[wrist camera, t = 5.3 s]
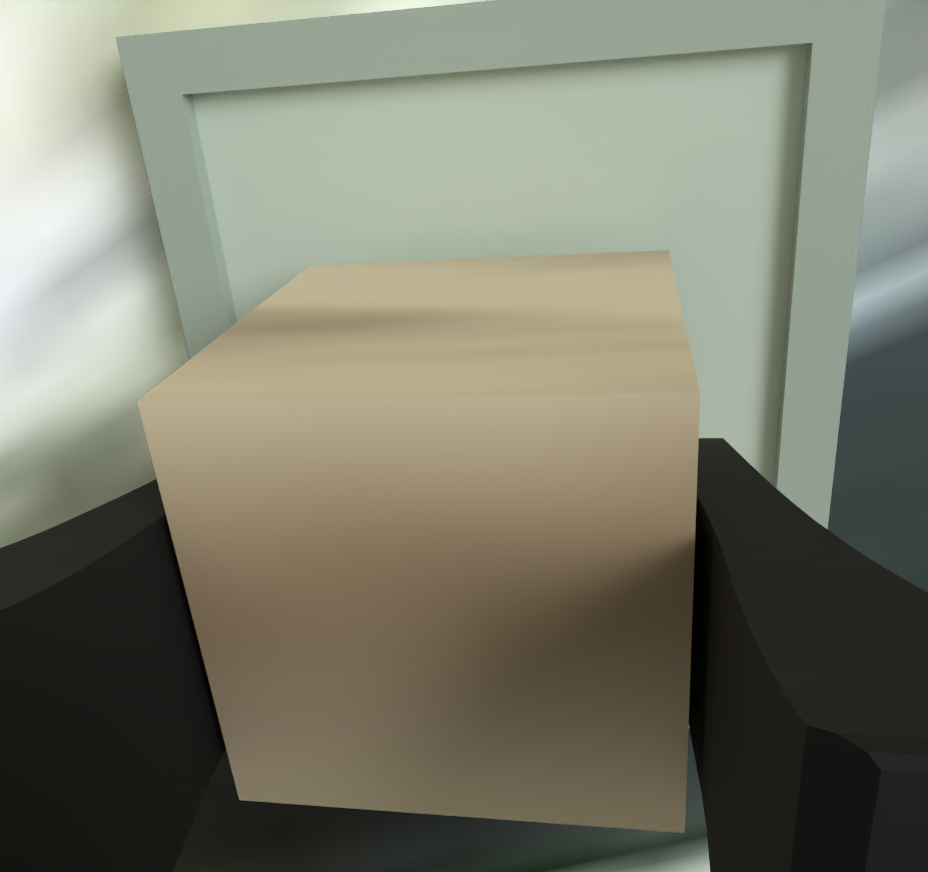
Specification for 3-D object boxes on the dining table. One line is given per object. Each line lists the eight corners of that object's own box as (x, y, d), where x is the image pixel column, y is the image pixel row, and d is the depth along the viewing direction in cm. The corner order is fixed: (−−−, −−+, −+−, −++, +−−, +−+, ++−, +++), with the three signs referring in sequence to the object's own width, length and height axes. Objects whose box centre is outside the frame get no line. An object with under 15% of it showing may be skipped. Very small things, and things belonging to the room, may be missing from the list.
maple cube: (663, 567, 14) (684, 832, 9) (356, 561, 14) (239, 800, 10) (669, 250, 12) (700, 392, 7) (309, 265, 12) (137, 401, 8)
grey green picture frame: (793, 690, 16) (805, 734, 15) (288, 668, 18) (269, 705, 17) (866, -34, 11) (890, -37, 10) (153, 35, 13) (115, 36, 12)
